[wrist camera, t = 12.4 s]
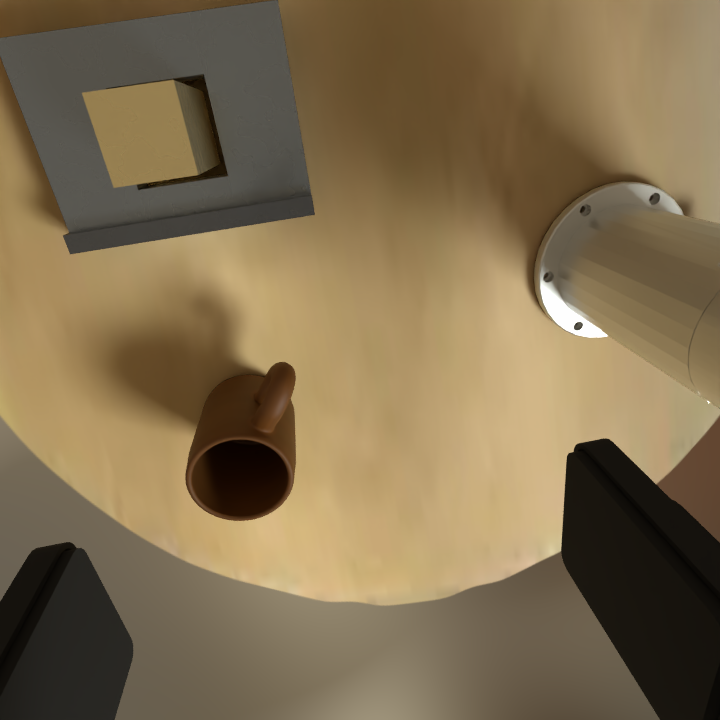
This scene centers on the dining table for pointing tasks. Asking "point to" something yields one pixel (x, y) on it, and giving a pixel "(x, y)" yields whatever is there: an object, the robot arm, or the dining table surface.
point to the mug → (245, 446)
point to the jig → (155, 64)
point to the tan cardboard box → (152, 132)
